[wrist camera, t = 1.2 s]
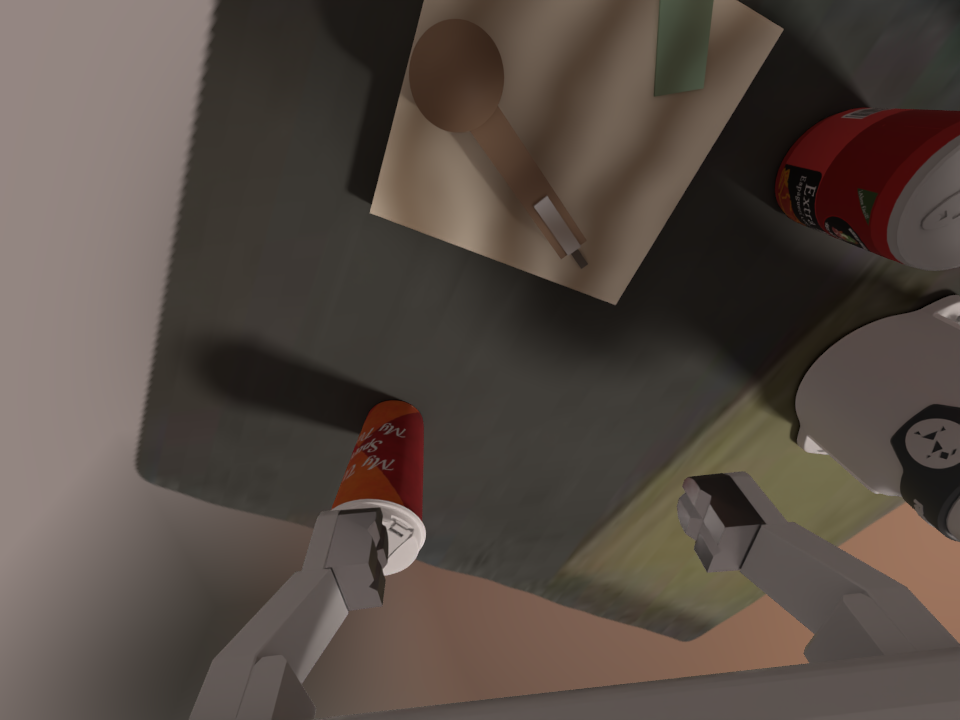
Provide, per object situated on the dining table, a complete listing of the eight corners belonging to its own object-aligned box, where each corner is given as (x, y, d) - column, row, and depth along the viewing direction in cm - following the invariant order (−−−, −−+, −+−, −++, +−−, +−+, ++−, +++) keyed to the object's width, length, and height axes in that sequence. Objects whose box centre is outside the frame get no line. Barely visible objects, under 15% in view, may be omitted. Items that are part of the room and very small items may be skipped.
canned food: (750, 177, 32) (872, 213, 22) (857, 77, 28) (1050, 72, 19) (801, 242, 34) (928, 299, 25) (903, 158, 31) (1091, 187, 22)
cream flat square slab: (766, 28, 27) (789, 23, 25) (608, 295, 36) (616, 306, 34) (467, -153, 22) (468, -176, 20) (374, 206, 31) (369, 213, 30)
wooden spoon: (397, 72, 25) (388, 69, 22) (462, 4, 24) (463, -8, 21) (535, 258, 32) (543, 275, 29) (594, 214, 30) (609, 228, 27)
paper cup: (392, 376, 40) (363, 499, 28) (450, 422, 43) (446, 549, 31) (338, 422, 42) (291, 551, 30) (397, 462, 45) (375, 592, 34)
